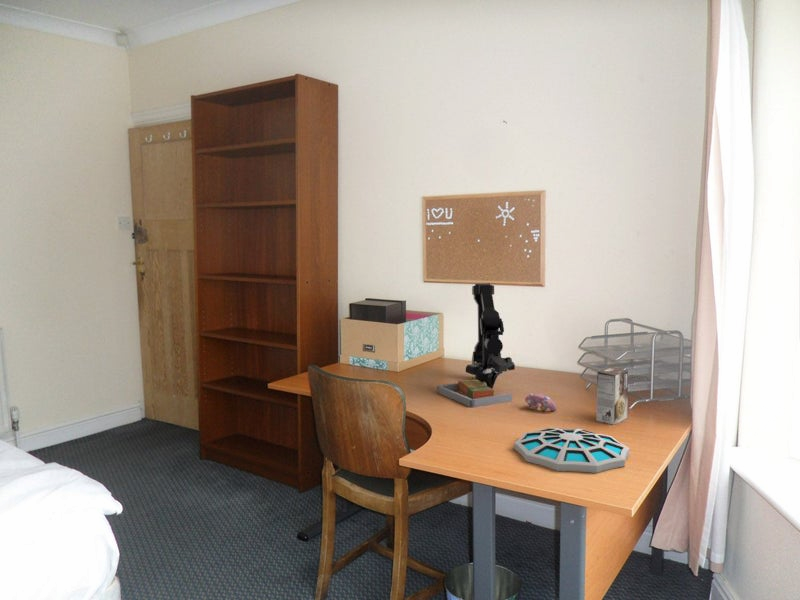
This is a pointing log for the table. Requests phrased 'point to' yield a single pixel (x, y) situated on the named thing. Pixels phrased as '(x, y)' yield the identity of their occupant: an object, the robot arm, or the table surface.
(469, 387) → the carton
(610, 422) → the coffee box
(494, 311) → the robot arm
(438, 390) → the display frame
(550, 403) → the video game controller
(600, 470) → the decorative platform
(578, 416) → the table surface
